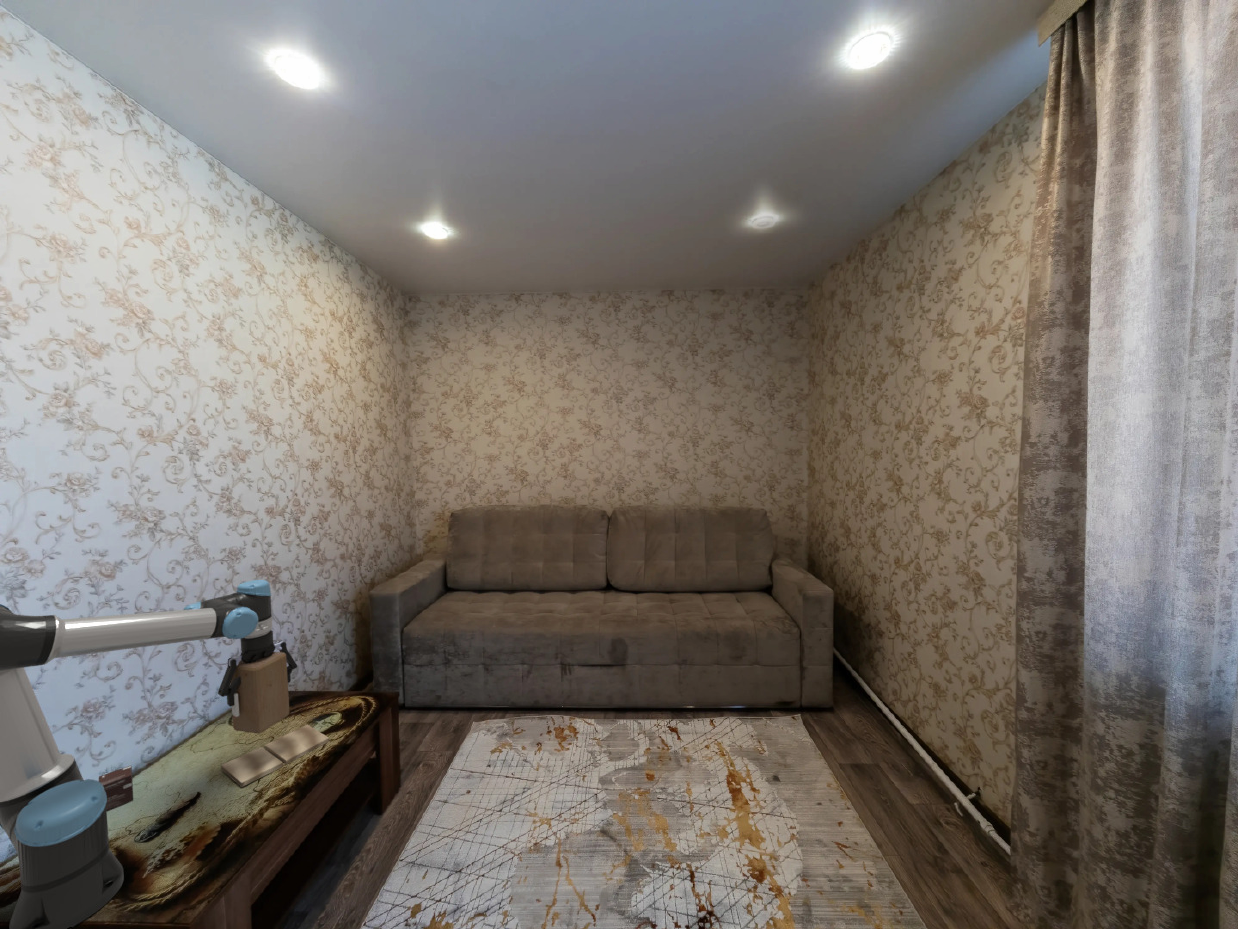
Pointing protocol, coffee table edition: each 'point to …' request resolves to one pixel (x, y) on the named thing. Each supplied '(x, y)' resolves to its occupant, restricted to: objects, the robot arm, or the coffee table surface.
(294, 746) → the laid boards
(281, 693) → the wooden block
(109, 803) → the box
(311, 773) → the coffee table surface
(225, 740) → the coffee table surface
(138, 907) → the coffee table surface
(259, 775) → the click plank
